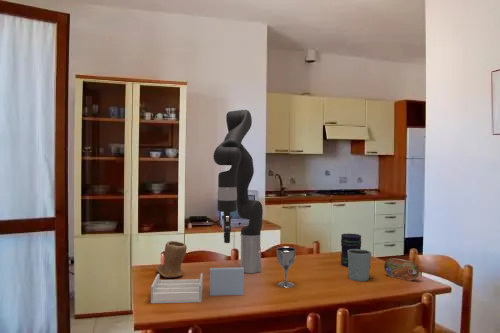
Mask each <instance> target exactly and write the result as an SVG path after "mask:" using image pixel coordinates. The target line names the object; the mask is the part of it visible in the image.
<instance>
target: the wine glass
mask: <svg viewBox="0 0 500 333" xmlns="http://www.w3.org/2000/svg"><path fill="white" fill-rule="evenodd" d="M296 255H297V249H296V248H295V247H291V246H279V247H276V258H277V262H278V264H279V266H281V268H282V269H283V272H284V281H281V282H278V283H277V286H278V287H281V288H292V287H295V283H293V282H290V281H288V272H289V269H290V268H291V267H292V266H293V265H294V264H295V262H296V258H297V257H296Z"/></svg>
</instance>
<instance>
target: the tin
mask: <svg viewBox="0 0 500 333" xmlns="http://www.w3.org/2000/svg"><path fill="white" fill-rule="evenodd" d="M383 269H384V271H385V273H386V275H387V276H389V277H391V278H393V279H394V278H395V279H399V280H404V281H409V282H411V281H414V280H415V279H418V277H419V275H420V269H419V266H418V265H417V264H416V262H414V261H412V260H406V259H401V258H396V257H395V258H394V257H393V258H389V259H388V258H387V260H385V263H384V264H383Z"/></svg>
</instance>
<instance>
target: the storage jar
mask: <svg viewBox="0 0 500 333" xmlns="http://www.w3.org/2000/svg"><path fill="white" fill-rule="evenodd" d="M340 237H341V238H340V239H341V240H340V245H341V253H340V262H341V263H340V265H341V266H342V267H345V268H348V264H349V263H348V252H347V251H348V250H350V249H361V248H362V235H361V234H358V233H342V234H341V236H340ZM361 250H362V249H361Z"/></svg>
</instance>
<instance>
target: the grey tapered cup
mask: <svg viewBox="0 0 500 333" xmlns="http://www.w3.org/2000/svg"><path fill="white" fill-rule="evenodd" d="M347 252H348V263H349V264H348V267H347V268H348V279H350V280H351V281H354V282H367V281H369V279H370V269H371V265H370V264H371V258H372V252H371V251H370V250H367V249H350V250H348V251H347Z"/></svg>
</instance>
